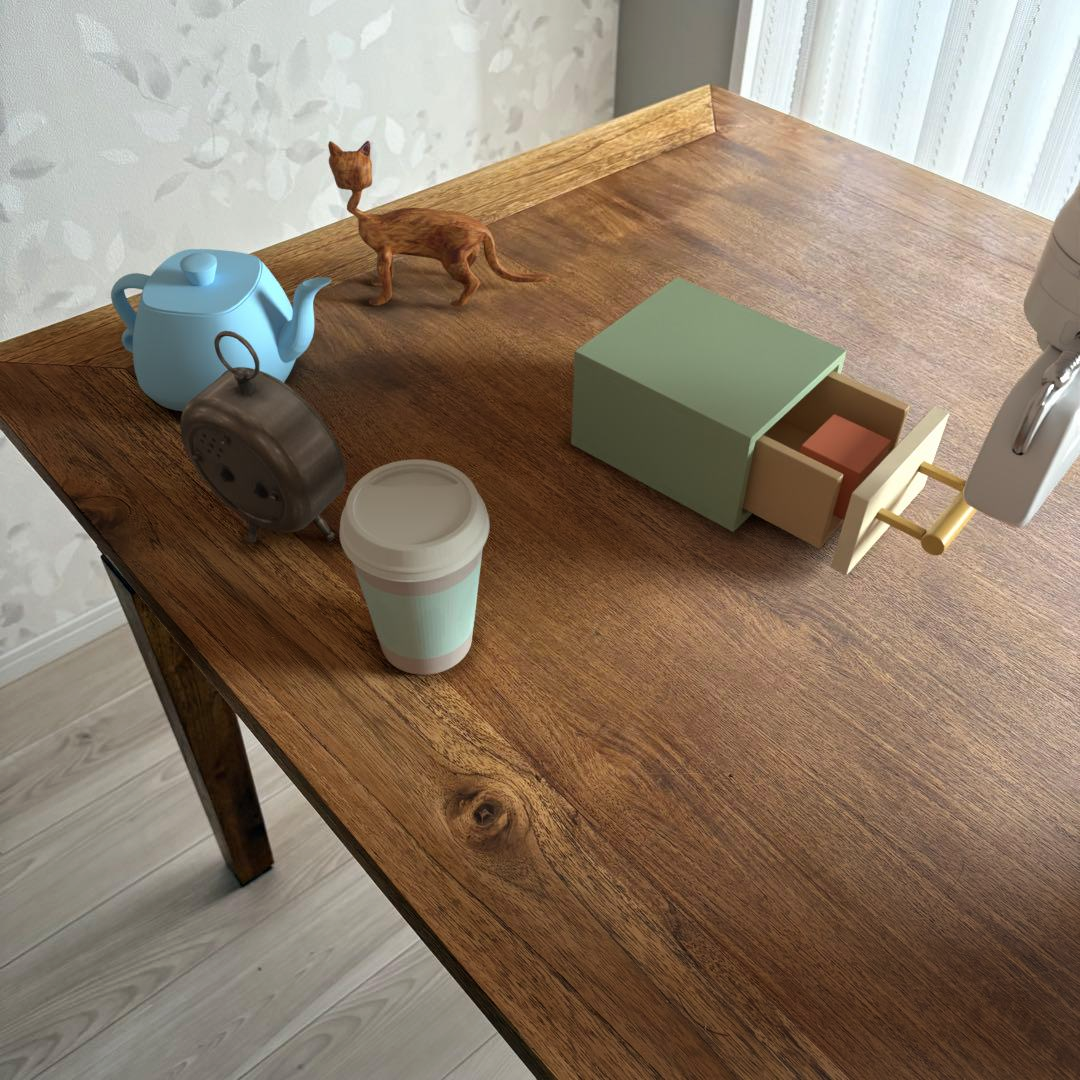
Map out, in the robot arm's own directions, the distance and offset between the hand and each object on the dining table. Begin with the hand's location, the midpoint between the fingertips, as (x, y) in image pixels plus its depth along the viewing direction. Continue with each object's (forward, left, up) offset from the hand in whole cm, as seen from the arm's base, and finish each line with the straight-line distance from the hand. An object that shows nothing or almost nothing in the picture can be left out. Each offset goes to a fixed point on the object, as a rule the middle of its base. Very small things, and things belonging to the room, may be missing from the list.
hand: (1030, 490), depth 67 cm
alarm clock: (+49, +2, -9) cm, 50 cm away
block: (+10, -6, -7) cm, 14 cm away
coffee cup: (+36, +10, -9) cm, 38 cm away
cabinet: (+20, -12, -9) cm, 25 cm away
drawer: (+10, -6, -8) cm, 15 cm away
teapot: (+57, -14, -9) cm, 59 cm away
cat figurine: (+43, -29, -9) cm, 53 cm away
